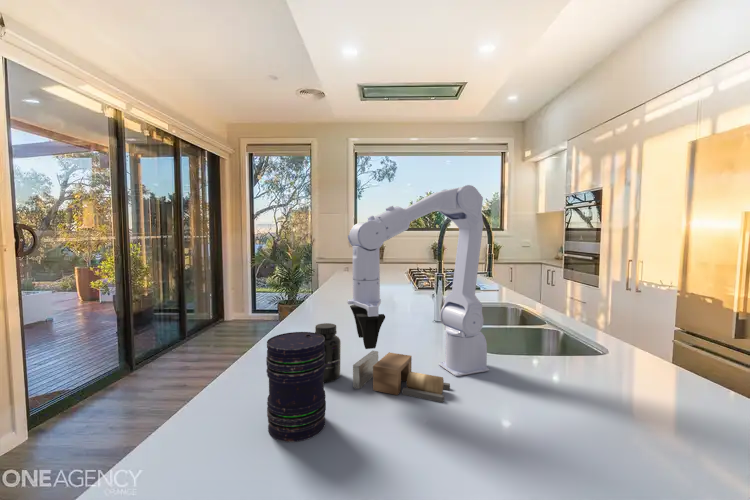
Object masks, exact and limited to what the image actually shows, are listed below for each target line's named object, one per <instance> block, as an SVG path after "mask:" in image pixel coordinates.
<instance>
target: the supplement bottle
mask: <svg viewBox="0 0 750 500" xmlns="http://www.w3.org/2000/svg"><path fill="white" fill-rule="evenodd" d="M314 328H315V329H314V333H318V334H321V335H323V336H324V338H325V344H324V346H325V365H326V367H325V371H324V383H330V382H333V381H336V380H338V379H339V378H340V376H341V350H342V349H341V348H342V347H341V346H342V345H341V344H342V343H341V342H342V341H341V339H340V337H339V336H338V335H336V334H337V325H336V324H335V323H326V322H324V323H318V324H316V325H315V327H314Z"/></svg>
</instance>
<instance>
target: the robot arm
mask: <svg viewBox="0 0 750 500" xmlns="http://www.w3.org/2000/svg"><path fill="white" fill-rule="evenodd" d="M483 200H484V197H483V195H482V194H481V193H480V192H479V190H478V188H476V187H475V186H474V185H472V184H471V185H470V184H467V185H463V186H460V187H455V188H450V189H449V188H448V189H443V190H440V191H436V192H433V193H430V194H429V195H427V196H425V197H423V198H422V199H420V200H418V201H416V202H414V203H412V204H411V205H408V206H407V207H405V208H402V207H401V206H394V205H389V206H387V207H385V211H384V212H382V213H380V214H377V215H375V216H374V215H370V216H368V217H367V221H365V222H358V223H356V224H354V225H353V226H352V227H351V229H350V231H349V235H347V241H348V243H349V245H350V246H351V247H352V299H349V298H348V299H347V301H346V303H347V304H348V305H349V308H350V310H351V312H352V315H353V317H354V322H355V326H356V327H355V328H356V333H357V335H358V338H361V339H362V341H363V345H364V348H365V350H371V349H376V347H377V343H378V339H379V334H380V330H381V327H382V324H383V323H384V321H385V320H386V315H385V314H384V313H379V307H380V305H381V302H382V299H381V291H380V290H381V288H380V287H381V285H380V281H381V280H380V279H381V278H380V276H381V275H380V273H381V272H380V271H381V267H380V266H381V265H380V263H381V261H380V260H381V259H380V258H381V257H380V248H381V247H382V246H383V244H384V242H386V241H388V240H390V239H392V238H395V237H397V236H399V235H400V234H402V233H404V232H405V231H408V229H409V228H410V224H411V222H413V221H416V220H418V219H420V218H422V217H424V216H426V215H430V214H431V213H433V212H439V214H441V215H443V216H444V217H445V218H448V219H449V220H450V221H452V222H453V223H454V225H456V226H457V228H458V237H457V247H456V255H455V262H454V271H453V279H452V285H451V287H452V289H451V292H449V294H447V295H446V296H445V298H444V303H443V306H442V307H441V309H440V312H439V318H440V319H439V320H440V323H441V324H442V325H443V326H444V330H445V361H439V362H438V366H440V367H442V368H443V369H445V370H446V371H448V372H449V373H451V374H452V375H453V376H455V377H460V376H466V375H473V374H479V373H483V372H484V373H485V372H489V371H490V369H489V367H488V365H487V363H488V362H487V360H488V359H487V358H488V357H487V355H488V351H487V350H488V344H487V343H488V342H487V340H486V337H485V335H484V334H483V332H482V331H481V330H482V328H483V326H484V315H483V304H482V303H481V301H480V300H479V298H478V297H477V296H476V288H477V280H478V270H479V262H480V254H481V247H482V246H481V245H482V238H483V237H482V236H483V228H484V220H483V213H482V212H483Z"/></svg>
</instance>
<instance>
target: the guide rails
mask: <svg viewBox="0 0 750 500" xmlns="http://www.w3.org/2000/svg"><path fill="white" fill-rule="evenodd" d="M450 389H451V383H448V382H444V386H443V390H446V391H450ZM401 394H402V395H403V396H404V395H405V396H409V397H414V398H418V399H424V400H429V401H433V402H439V403H444V401H445V395H444V394H442V395H440V394H435V393H429V392H424V391H419V390H414V389H409V388H407V387H403V388H401Z"/></svg>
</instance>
